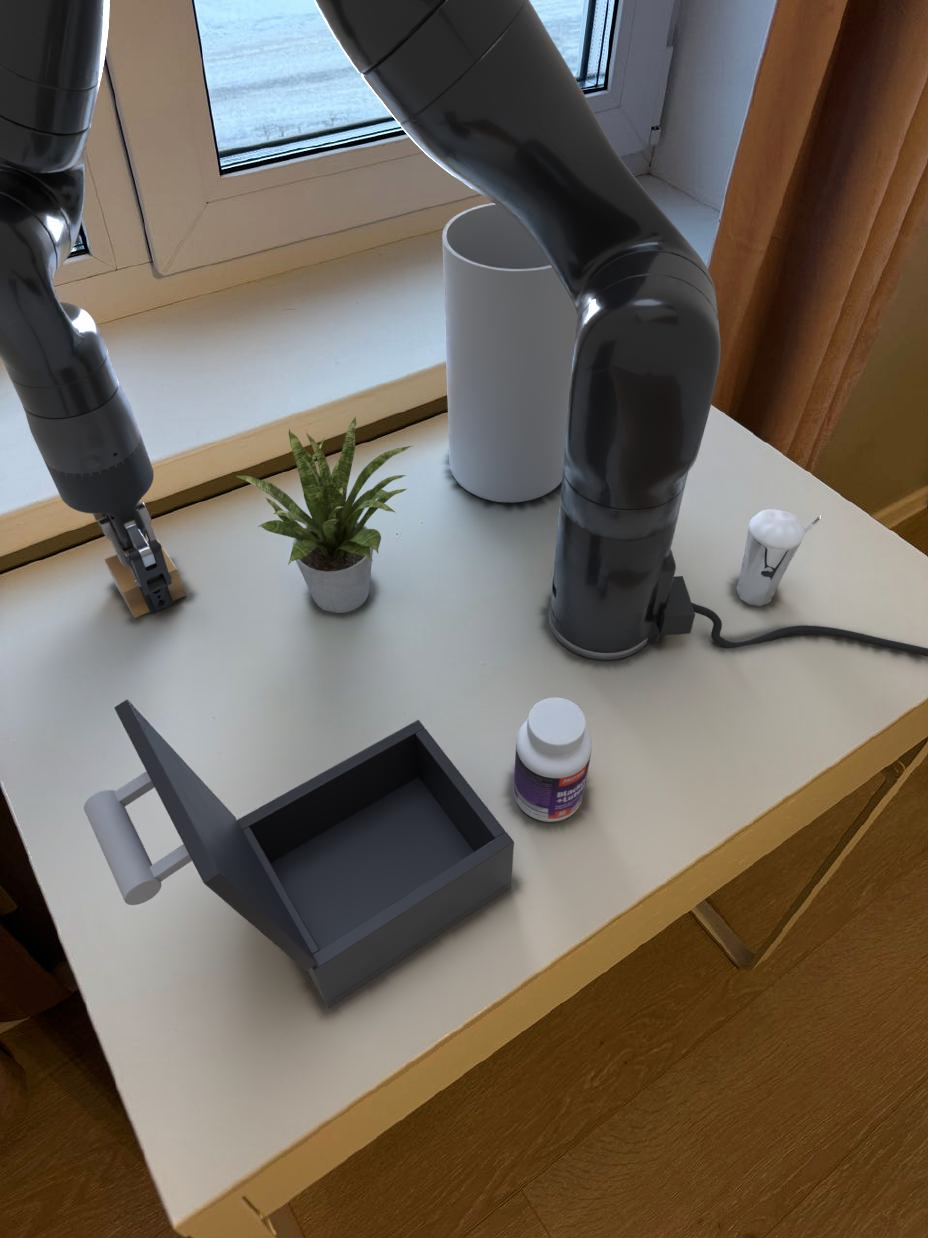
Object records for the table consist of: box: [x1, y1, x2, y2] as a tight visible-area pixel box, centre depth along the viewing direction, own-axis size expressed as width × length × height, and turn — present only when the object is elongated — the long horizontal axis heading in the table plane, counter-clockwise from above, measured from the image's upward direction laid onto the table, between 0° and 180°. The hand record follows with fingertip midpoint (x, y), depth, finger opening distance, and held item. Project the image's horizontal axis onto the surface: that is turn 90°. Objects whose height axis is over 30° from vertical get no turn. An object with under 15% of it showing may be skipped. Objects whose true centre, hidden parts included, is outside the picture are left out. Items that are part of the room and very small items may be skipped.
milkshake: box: [736, 508, 822, 607], centre depth 78 cm, size 4×5×10 cm
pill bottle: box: [513, 697, 593, 823], centre depth 65 cm, size 5×5×10 cm
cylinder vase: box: [441, 202, 578, 504], centre depth 85 cm, size 12×12×25 cm
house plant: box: [233, 416, 413, 614], centre depth 76 cm, size 14×14×16 cm
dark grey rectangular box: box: [237, 719, 515, 1009], centre depth 62 cm, size 15×12×7 cm
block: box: [104, 537, 187, 619], centre depth 82 cm, size 5×5×4 cm
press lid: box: [83, 699, 317, 972], centre depth 49 cm, size 16×12×5 cm
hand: (149, 587), depth 83 cm, fingers closed on block, 5 cm apart
